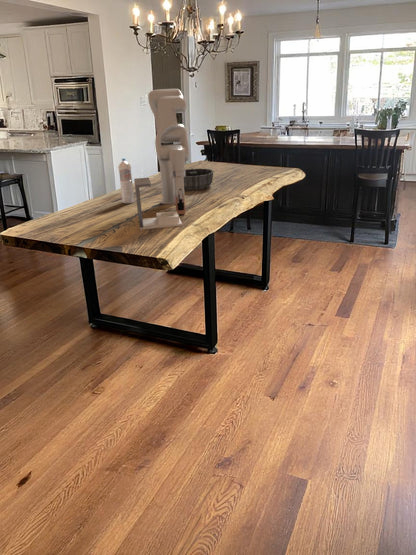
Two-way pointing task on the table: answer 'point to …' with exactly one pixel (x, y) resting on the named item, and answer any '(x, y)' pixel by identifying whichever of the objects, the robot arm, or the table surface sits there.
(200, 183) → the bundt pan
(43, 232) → the table surface
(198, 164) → the table surface
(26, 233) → the table surface
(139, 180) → the grey l-shaped bracket
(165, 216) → the socket stand
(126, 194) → the water bottle
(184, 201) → the peg
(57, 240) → the table surface
